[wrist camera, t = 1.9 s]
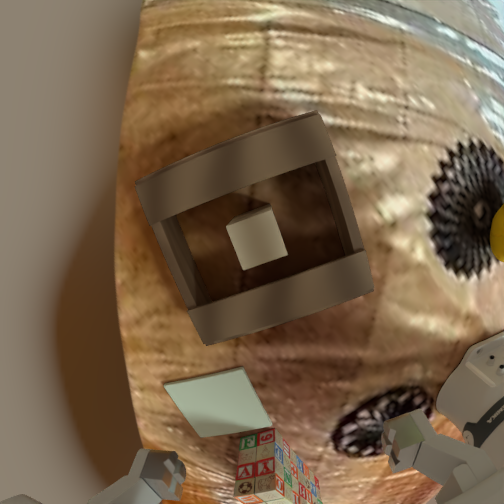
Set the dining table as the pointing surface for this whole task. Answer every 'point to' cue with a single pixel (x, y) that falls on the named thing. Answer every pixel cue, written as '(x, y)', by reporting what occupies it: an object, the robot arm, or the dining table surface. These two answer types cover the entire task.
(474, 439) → the robot arm
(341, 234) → the access box
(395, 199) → the dining table surface
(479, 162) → the dining table surface
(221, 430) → the zone pad
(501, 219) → the duckling
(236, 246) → the maple block
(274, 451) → the stack of blocks
